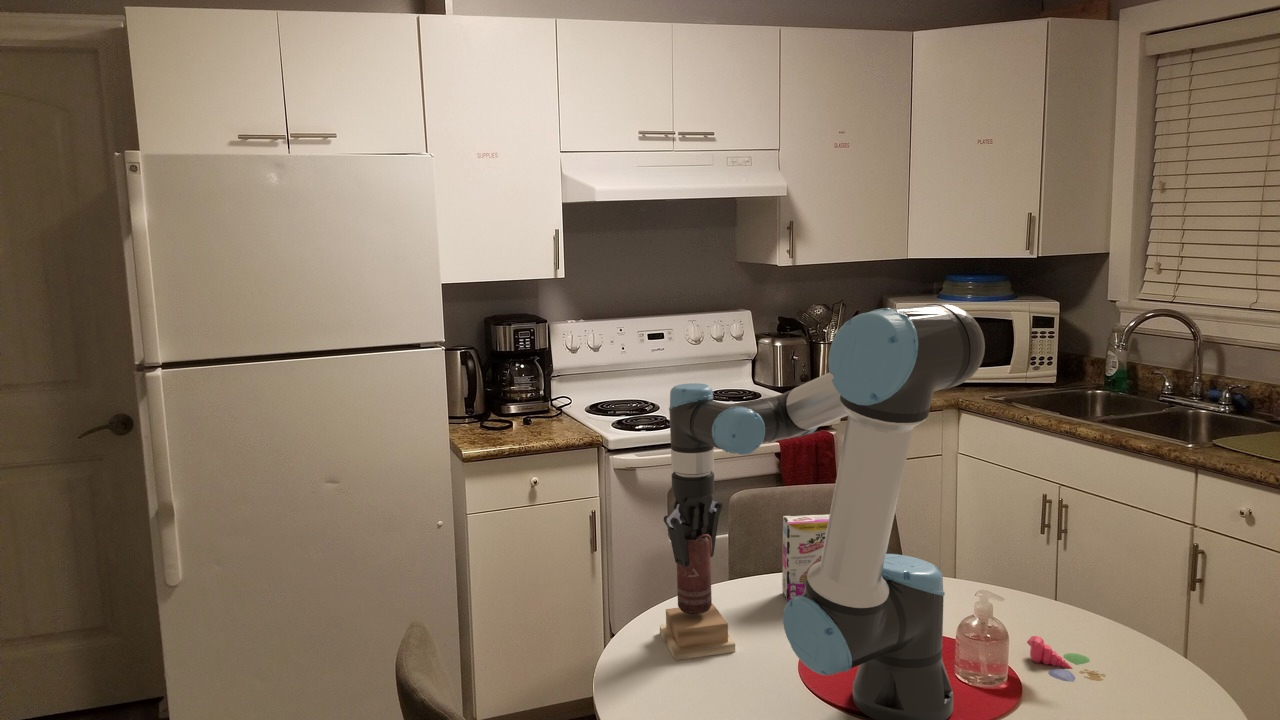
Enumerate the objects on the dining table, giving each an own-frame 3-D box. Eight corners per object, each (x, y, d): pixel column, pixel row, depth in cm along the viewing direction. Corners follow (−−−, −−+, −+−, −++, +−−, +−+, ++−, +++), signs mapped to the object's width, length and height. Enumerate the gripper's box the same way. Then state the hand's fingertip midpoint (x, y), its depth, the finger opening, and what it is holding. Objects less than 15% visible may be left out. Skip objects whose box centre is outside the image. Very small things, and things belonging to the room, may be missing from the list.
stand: (735, 651, 162) (734, 625, 161) (675, 660, 160) (674, 633, 159) (716, 625, 173) (716, 600, 172) (659, 633, 170) (659, 607, 170)
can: (714, 614, 163) (712, 539, 160) (678, 615, 163) (676, 540, 160) (712, 599, 169) (710, 527, 166) (677, 600, 169) (675, 528, 166)
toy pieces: (1032, 681, 149) (1033, 656, 149) (1024, 650, 160) (1025, 626, 159) (1114, 689, 146) (1115, 663, 145) (1100, 657, 157) (1101, 633, 156)
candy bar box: (787, 602, 182) (786, 523, 180) (781, 592, 187) (781, 515, 184) (842, 599, 183) (842, 520, 180) (835, 589, 188) (835, 512, 185)
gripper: (702, 460, 169) (705, 582, 172) (651, 475, 160) (654, 603, 163) (733, 467, 163) (735, 593, 167) (681, 483, 154) (684, 616, 158)
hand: (695, 598), depth 165 cm, fingers closed
